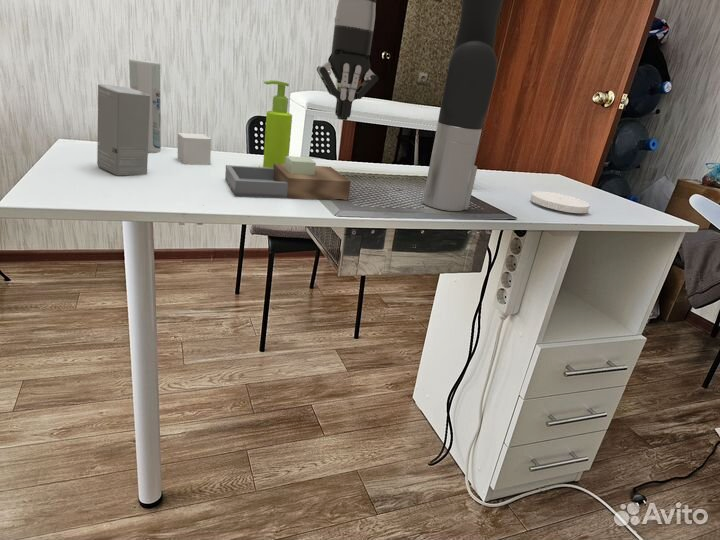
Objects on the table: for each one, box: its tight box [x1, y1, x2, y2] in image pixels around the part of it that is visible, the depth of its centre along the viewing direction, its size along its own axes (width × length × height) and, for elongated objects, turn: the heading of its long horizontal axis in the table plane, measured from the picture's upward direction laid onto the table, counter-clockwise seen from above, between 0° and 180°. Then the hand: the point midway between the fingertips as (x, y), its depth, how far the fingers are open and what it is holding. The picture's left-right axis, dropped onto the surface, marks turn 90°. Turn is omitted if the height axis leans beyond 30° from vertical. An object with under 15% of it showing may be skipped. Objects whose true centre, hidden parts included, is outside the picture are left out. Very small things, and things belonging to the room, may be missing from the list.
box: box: [224, 164, 288, 199], centre depth 101 cm, size 10×13×3 cm
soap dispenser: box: [262, 80, 293, 168], centre depth 117 cm, size 6×7×20 cm
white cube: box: [177, 132, 212, 166], centre depth 115 cm, size 6×6×6 cm
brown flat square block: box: [273, 163, 352, 201], centre depth 105 cm, size 13×13×4 cm
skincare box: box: [96, 83, 150, 177], centre depth 97 cm, size 8×7×16 cm
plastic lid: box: [529, 190, 591, 214], centre depth 126 cm, size 14×14×2 cm
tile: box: [285, 155, 317, 175], centre depth 103 cm, size 5×5×2 cm
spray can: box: [128, 58, 162, 154], centre depth 117 cm, size 6×6×20 cm
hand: (342, 119), depth 103 cm, fingers closed
